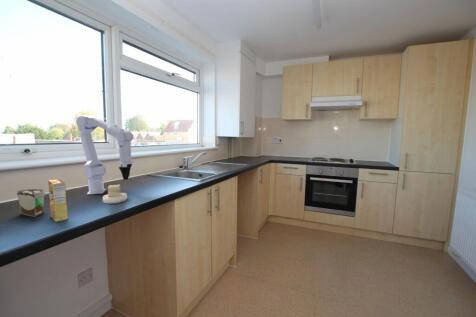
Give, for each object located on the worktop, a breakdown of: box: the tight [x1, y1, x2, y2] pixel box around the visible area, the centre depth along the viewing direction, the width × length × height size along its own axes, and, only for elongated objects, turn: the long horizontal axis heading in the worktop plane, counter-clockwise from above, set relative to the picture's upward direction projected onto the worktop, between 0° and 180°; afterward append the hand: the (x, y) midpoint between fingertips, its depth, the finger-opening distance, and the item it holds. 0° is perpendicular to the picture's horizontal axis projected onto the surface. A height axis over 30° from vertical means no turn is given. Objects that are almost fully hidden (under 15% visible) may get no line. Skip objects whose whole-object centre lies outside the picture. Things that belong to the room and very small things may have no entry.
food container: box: [16, 188, 47, 218], centre depth 96 cm, size 12×6×10 cm, turn 71°
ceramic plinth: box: [102, 192, 128, 205], centre depth 115 cm, size 11×11×2 cm
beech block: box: [107, 184, 122, 197], centre depth 115 cm, size 5×5×5 cm
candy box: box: [47, 178, 68, 223], centre depth 91 cm, size 9×4×15 cm, turn 50°
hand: (126, 178), depth 123 cm, fingers open, 7 cm apart
